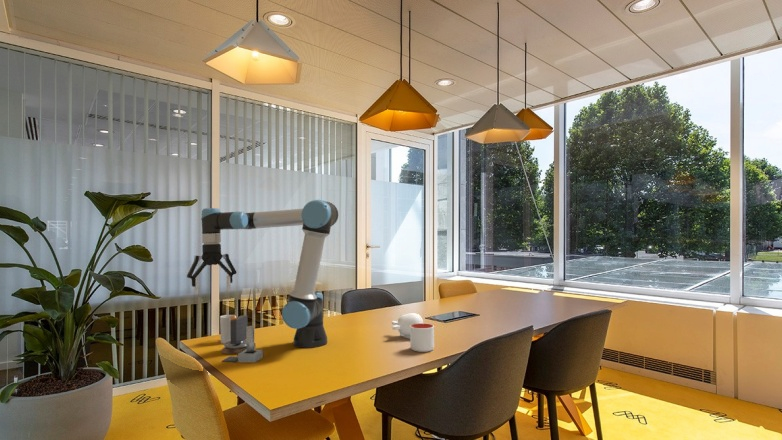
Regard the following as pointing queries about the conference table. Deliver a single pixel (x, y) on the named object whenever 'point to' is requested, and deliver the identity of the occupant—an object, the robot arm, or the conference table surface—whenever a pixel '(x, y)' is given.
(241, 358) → the eye block
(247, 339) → the rod
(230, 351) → the plinth
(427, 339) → the cup
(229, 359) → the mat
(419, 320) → the piggy bank
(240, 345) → the lever on round base
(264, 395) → the conference table surface
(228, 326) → the mug
